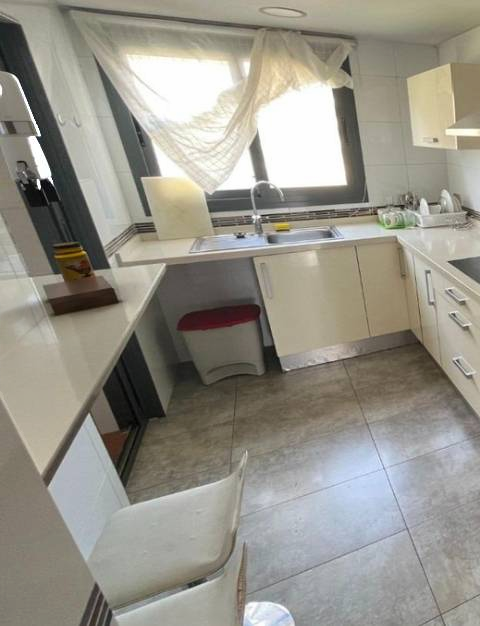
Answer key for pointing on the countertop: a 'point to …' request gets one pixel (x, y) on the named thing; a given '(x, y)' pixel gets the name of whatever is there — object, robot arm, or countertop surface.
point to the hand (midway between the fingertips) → (46, 204)
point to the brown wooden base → (80, 294)
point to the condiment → (72, 261)
